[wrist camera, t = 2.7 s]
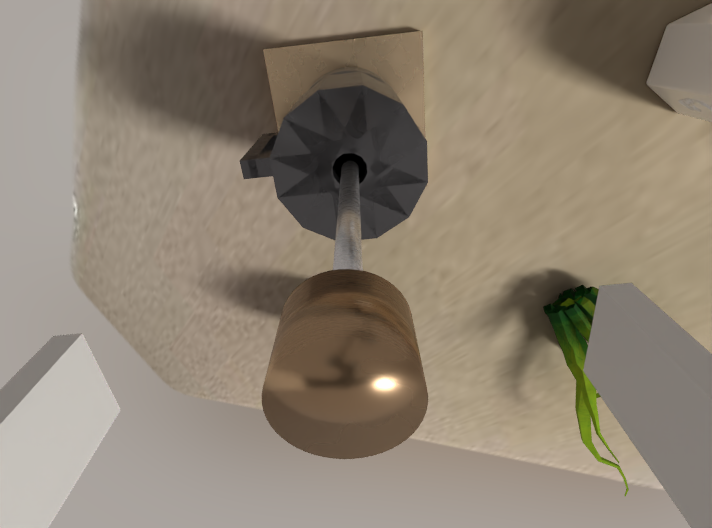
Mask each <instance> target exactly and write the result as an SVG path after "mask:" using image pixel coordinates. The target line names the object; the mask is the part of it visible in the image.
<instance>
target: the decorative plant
mask: <svg viewBox="0 0 712 528" xmlns="http://www.w3.org/2000/svg"><path fill="white" fill-rule="evenodd" d="M575 290H576V291H577V292H574V291H573V290H572V289H569V290H566V291H564V292H563V295H562V294H561V293H560V295H559V297H558V298H559V299H558V300H557V301H555V302H554V303H553V304H552V305H551V304H549V305H546V306H544V312H545V313H546V314H547V315H548V317H549V319H550V322H551V324H552V326H553V328H554V331H555V334H556V337H557V339H558V342H559V344H560V346H561V348H562V351H563V353H564V357H565V360H566V363H567V366H568V367H569V369H570V370H571V372H572V374H573V376H574V377H575V379H576V406H575V408H576V413H577V418H578V423H579V429H580V434H581V439H582V441H583V443H584V444H585V445H586V447H587V448H588V449H589V450H590V452H591V453H592V454H593V455H594V456H595V458H596V459H597V460H598V461H599V462H602V463H605V464H607V465H610V466H613V467H616V468H617V469H618V470H619V472H620V473H621V475H622V477H623V479H624V482H625V485H626V488H627V489H626V493H625V496H626V494H627V492H628V486H627V482H626V478H625V476H624V474H623V472H622V470H621V468H620V466H619V465H617V464H615V463H613V462H611V461H609V460H607V459H604V458H602V457H600V455H599V454H598V452H597V450H596V449H595V447H594V445H593V443H592V439H591V418H592V421H593V424H594V427H595V431H596V434H597V435H598V436H599V438H600V439H601V441H602V442H603V443H604V445H605V446H606V447H607V449H608V450H609V451H610V453H611V454H612V455H613V456H614V454H613V453H612V451H611V450H610V448H609V447H608V445H607V443H606V442H605V440H604V438H603V437H602V435H601V433H600V427H599V418H598V411H597V405H596V398H598V397H601V396H600V395H599V393H597V394H596V389H595V387H594V386H593V384H592V383H591V382H590V380H589V379H588V377H587V376H586V374H585V373H584V371H583V369H584V364H585V359H586V354H587V348H588V344H587V342H586V341H585V339H584V338H583V336H584V337H585V338H586V340H587V341H588V343H589V338H590V333H591V328H592V322H593V317H594V312H595V307H596V302H597V296H598V291H599V289H597V288H595V287H590V288H586V287H584V286H583V285H581V286H579V287H577V288H575ZM579 331H580V332H581V333H580V332H579ZM581 334H582V335H583V336H582V335H581ZM590 416H591V418H590ZM614 458H615V459H616V460H617V458H616V457H615V456H614ZM617 462H618V463H619V461H618V460H617Z"/></svg>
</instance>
